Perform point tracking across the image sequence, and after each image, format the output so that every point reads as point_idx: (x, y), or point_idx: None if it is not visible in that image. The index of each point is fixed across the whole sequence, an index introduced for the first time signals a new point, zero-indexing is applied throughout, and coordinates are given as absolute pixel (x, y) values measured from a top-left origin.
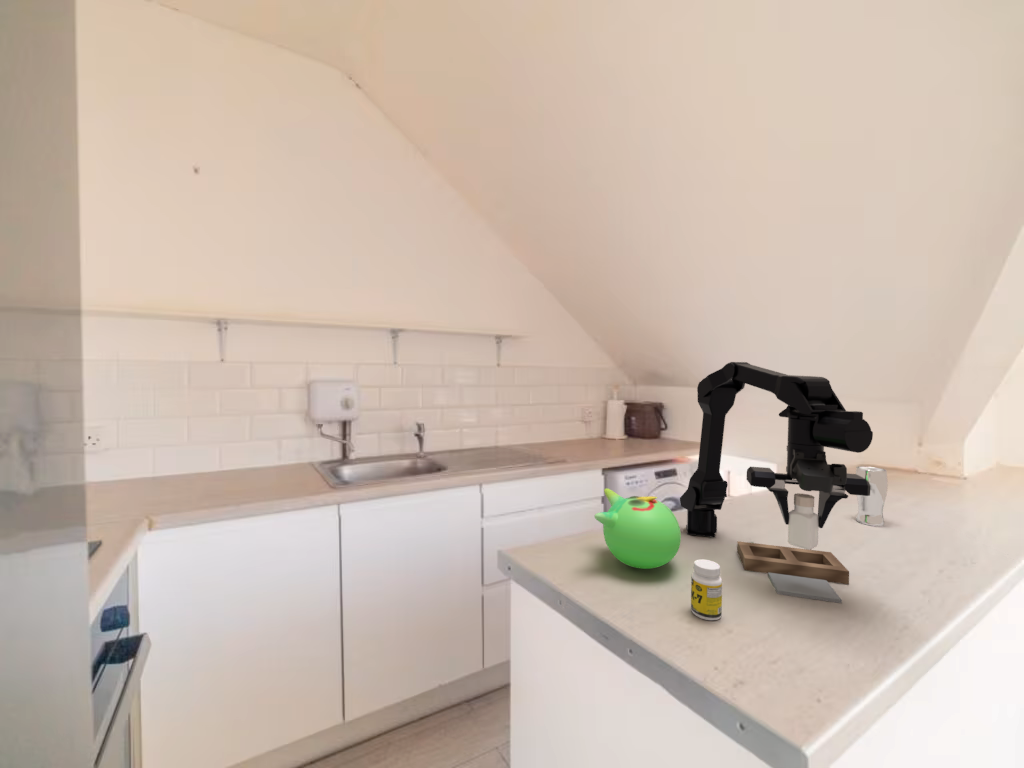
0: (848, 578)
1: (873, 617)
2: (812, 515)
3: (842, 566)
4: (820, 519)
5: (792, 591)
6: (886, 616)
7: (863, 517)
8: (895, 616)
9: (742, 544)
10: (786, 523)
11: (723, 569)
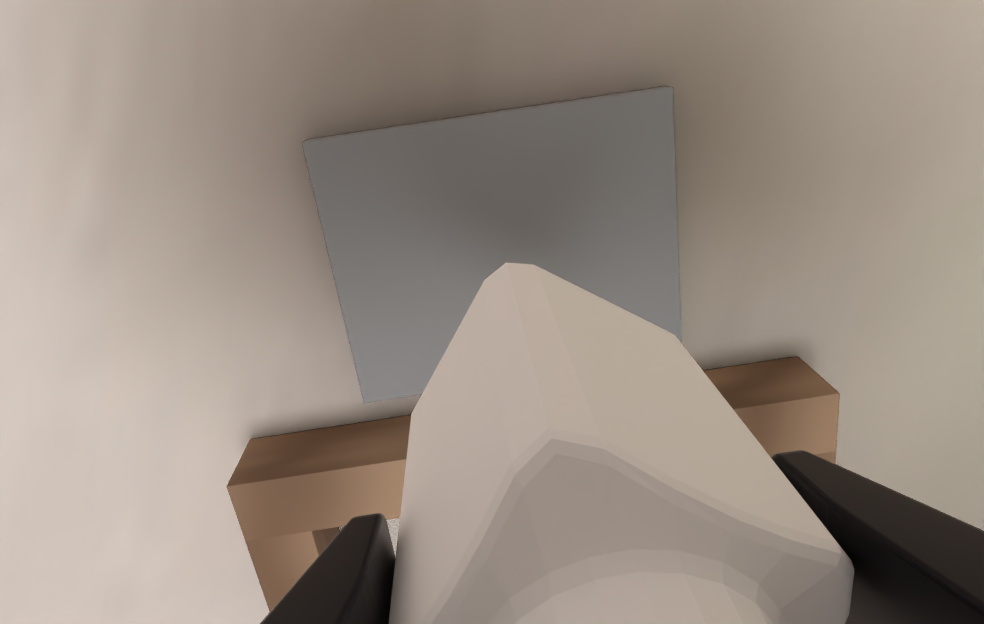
0: (242, 459)
1: (144, 13)
2: (504, 562)
3: (259, 546)
4: (365, 602)
5: (580, 120)
6: (74, 73)
7: None
8: (27, 102)
9: None
10: (804, 451)
11: (923, 307)
